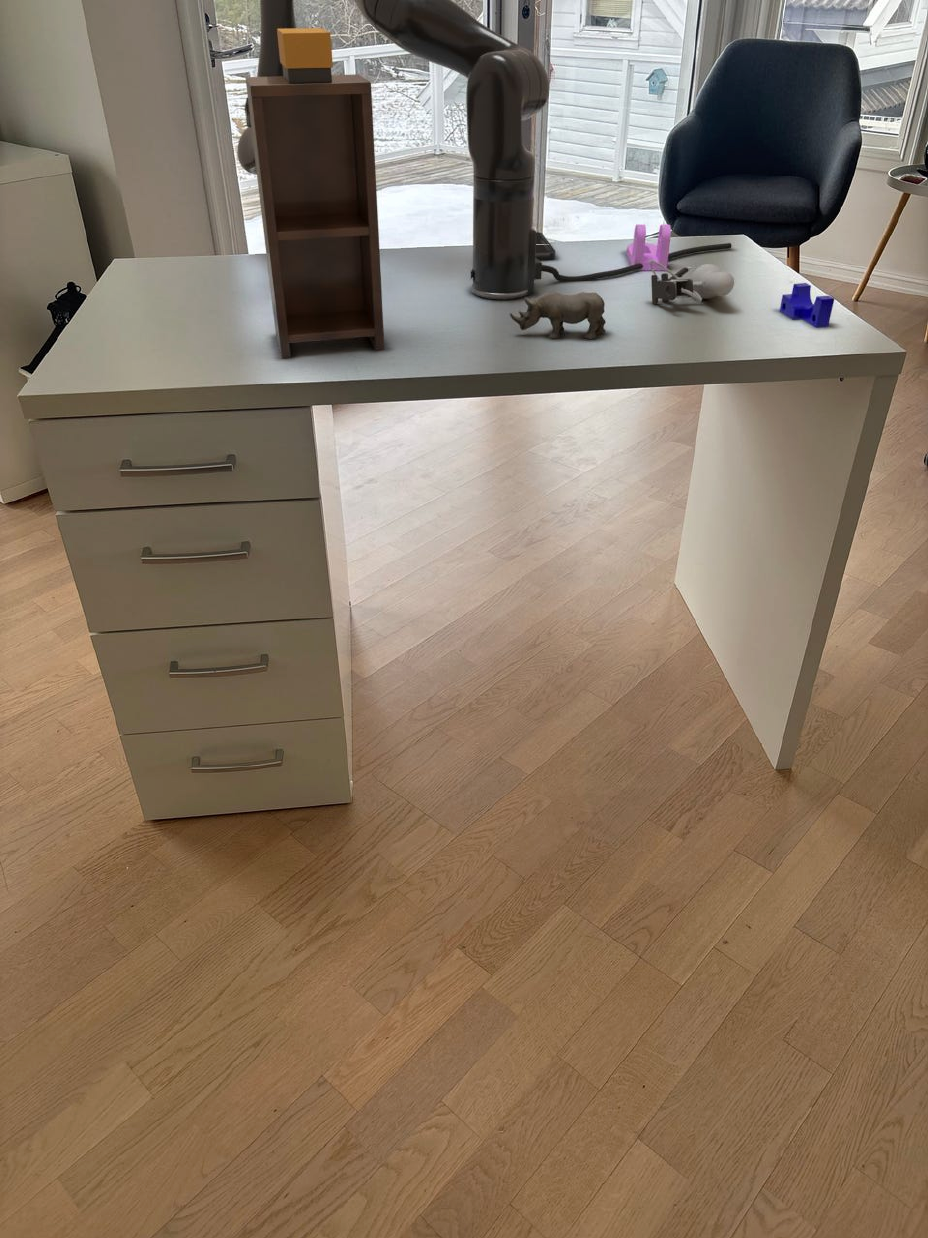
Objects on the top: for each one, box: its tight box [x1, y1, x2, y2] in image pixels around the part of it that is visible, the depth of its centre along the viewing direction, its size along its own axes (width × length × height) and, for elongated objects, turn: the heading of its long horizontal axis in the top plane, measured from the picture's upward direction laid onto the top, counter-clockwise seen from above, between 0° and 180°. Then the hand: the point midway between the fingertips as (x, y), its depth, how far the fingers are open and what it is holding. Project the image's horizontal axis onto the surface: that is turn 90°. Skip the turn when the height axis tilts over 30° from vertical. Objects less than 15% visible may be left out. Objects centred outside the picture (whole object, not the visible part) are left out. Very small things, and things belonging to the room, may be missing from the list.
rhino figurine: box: [509, 291, 607, 340], centre depth 131 cm, size 4×14×6 cm, turn 89°
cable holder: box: [779, 282, 835, 328], centre depth 138 cm, size 8×4×4 cm, turn 13°
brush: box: [277, 27, 334, 84], centre depth 114 cm, size 5×18×5 cm, turn 14°
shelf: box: [245, 74, 385, 359], centre depth 121 cm, size 14×9×32 cm, turn 104°
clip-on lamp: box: [650, 260, 735, 305], centre depth 146 cm, size 12×6×18 cm
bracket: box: [626, 224, 672, 271], centre depth 163 cm, size 13×6×7 cm, turn 179°
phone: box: [535, 231, 556, 261], centre depth 171 cm, size 8×1×15 cm
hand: (304, 96), depth 128 cm, fingers open, 8 cm apart
